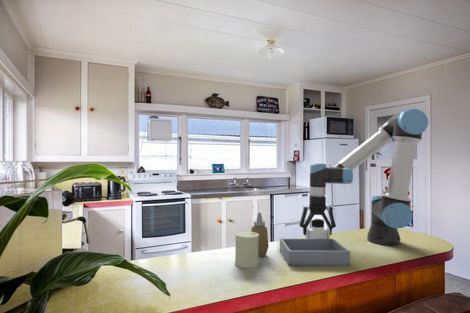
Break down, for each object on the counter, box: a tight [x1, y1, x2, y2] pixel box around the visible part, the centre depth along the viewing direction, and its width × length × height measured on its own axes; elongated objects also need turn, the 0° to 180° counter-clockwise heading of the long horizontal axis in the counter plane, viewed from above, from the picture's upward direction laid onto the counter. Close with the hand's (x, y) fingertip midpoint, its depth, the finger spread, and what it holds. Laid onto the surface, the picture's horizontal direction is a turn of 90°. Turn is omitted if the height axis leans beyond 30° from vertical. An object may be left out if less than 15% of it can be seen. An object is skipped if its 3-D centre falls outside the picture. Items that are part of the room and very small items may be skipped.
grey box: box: [279, 238, 351, 267], centre depth 124 cm, size 24×18×6 cm
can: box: [234, 230, 259, 269], centre depth 116 cm, size 9×9×12 cm
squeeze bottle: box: [250, 212, 270, 258], centre depth 126 cm, size 8×8×18 cm
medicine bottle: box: [308, 218, 327, 239], centre depth 143 cm, size 7×7×12 cm
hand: (317, 241), depth 143 cm, fingers closed on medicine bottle, 10 cm apart
